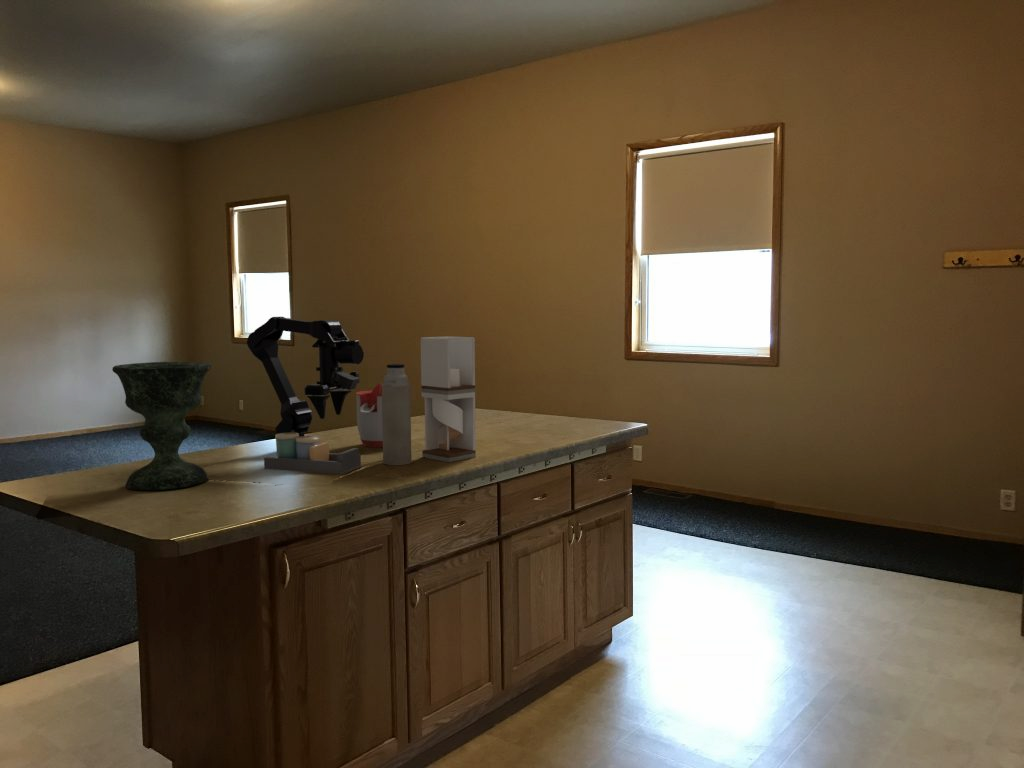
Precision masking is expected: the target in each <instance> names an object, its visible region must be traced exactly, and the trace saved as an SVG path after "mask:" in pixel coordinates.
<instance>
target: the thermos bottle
mask: <svg viewBox="0 0 1024 768" xmlns="http://www.w3.org/2000/svg"><path fill="white" fill-rule="evenodd" d="M386 368H387V369H386V375H384V376H383V383H382V430H383V448H382V463H383V465H386V464H387V466H404V465H408V464H411V463H412V420H411V419H412V417H411V416H412V415H411V414H412V413H411V410H412V409H411V408H412V407H411V401H412V400H411V383H409V382H408V381H409V377H408V375H406V373H405V364H403V363H391V364H389V363H388V364H386Z"/></svg>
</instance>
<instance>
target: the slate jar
mask: <svg viewBox="0 0 1024 768" xmlns="http://www.w3.org/2000/svg"><path fill="white" fill-rule="evenodd" d="M318 444H320V436H318V435H304V436H301V437H297V438H296V457H297V459H307V460H310V447H312V446H315V445H318Z"/></svg>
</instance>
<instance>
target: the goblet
mask: <svg viewBox="0 0 1024 768" xmlns="http://www.w3.org/2000/svg"><path fill="white" fill-rule="evenodd" d="M210 370H212V365H211V364H210V363H208V362H205V361H160V362H159V361H155V362H154V361H153V362H138V363H137V362H136V363H126V364H119V365H118V364H117V365H114V366H113V367H112V372H113V373H114V374H116V375H117V377H118V379H119V381H120V383H121V385H122V387H123V391H124V396H125V401H124V403H125V405H126V407H127V408H128V409H130V410H131V411H132V412H135V413H137V414H139V415H141V416H142V417H143V418H144V424H143V426H142V428H140V429H139V436H140V438H141V440H143V441H145V442H147V443H148V444H149V445H150V446H151V448H152V449H153V452H154V457H153V458H152V460H151V461H150V462H149V463H147V464H146V465H144V466H141V467H140V468H137V469H136V470H134V471H133V472H132V473H131V474H130V475H129V476H128V478H127V480H126V483H125V488H127V489H129V490H135V491H164V490H173V489H182V488H187V487H192V486H193V487H194V486H196V485H200V484H202V483H204V482H206V481H208V480H209V476H208V474H207V472H206V471H205V469H204V468H203V467H202V466H200V465H198V464H195V463H193V462H192V463H191V462H189V461H185V460H184V459H182V458H181V457H180V455H179V454H180V453H179V450H180V447H181V445H182V443H183V441H184V440H186V439H187V438H189V437H190V434H191V432H192V429H191V426H190V425H188V424H187V423H186V420H185V419H186V415H187V414H188V413H190V412H191V411H192V410H195V409H196V408H197V407H198V406H199V405H200V404H201V403H202V400H203V398H202V395H201V394H202V388H203V383H204V380H205V377H206V375H207V373H208V372H209V371H210Z"/></svg>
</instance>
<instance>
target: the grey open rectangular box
mask: <svg viewBox="0 0 1024 768" xmlns="http://www.w3.org/2000/svg"><path fill="white" fill-rule="evenodd" d="M361 456H362V455H361V454H360V449H359V447H353V448H350V449H347V450H343V451H341V452H339V453H335V452H334V453H333V452H329V461H324V460H307V459H290V458H277V457H270V456H265V457H263V466H264V467H263V468H264V470H275V471H277V470H278V471H290V472H293V471H294V472H307V473H322V474H323V473H324V474H339V475H340V476H342V475H344V476H346V475H345V474H347V473H349V474H351V473H353V472H352V471H354V472H356V471H358V470H357V469H359V470H360V468H361V466H362V462H361V461H362V459H361V458H362V457H361ZM355 470H356V471H355ZM350 472H351V473H350ZM347 475H348V474H347ZM342 477H343V476H342Z"/></svg>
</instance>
